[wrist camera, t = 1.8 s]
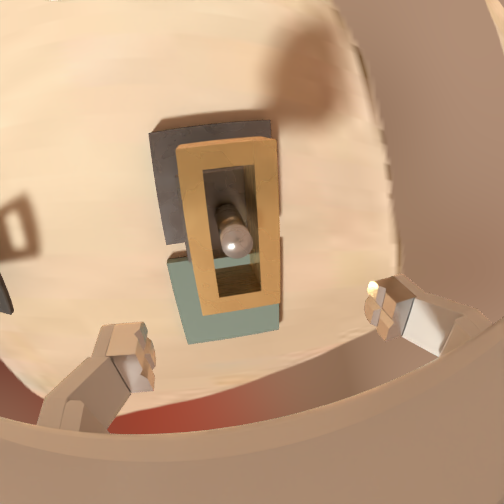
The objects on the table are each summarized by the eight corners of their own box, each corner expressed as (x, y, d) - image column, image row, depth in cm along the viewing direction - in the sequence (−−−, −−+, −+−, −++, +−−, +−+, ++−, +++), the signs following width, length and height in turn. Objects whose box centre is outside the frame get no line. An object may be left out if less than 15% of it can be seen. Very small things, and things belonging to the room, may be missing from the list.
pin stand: (151, 132, 25) (98, 145, 10) (266, 120, 27) (347, 121, 12) (167, 239, 30) (152, 344, 16) (271, 224, 32) (334, 313, 18)
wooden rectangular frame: (179, 144, 15) (175, 149, 12) (260, 136, 16) (276, 139, 13) (200, 285, 20) (202, 315, 17) (267, 275, 21) (280, 303, 18)
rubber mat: (167, 259, 31) (166, 263, 31) (275, 243, 33) (278, 247, 33) (188, 339, 37) (188, 344, 37) (277, 324, 39) (279, 329, 38)
